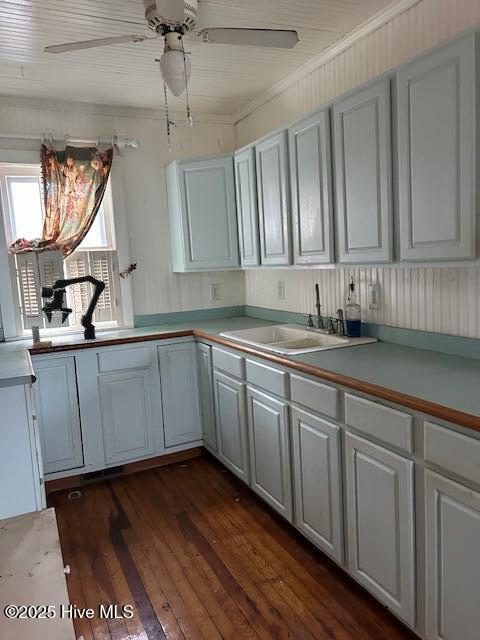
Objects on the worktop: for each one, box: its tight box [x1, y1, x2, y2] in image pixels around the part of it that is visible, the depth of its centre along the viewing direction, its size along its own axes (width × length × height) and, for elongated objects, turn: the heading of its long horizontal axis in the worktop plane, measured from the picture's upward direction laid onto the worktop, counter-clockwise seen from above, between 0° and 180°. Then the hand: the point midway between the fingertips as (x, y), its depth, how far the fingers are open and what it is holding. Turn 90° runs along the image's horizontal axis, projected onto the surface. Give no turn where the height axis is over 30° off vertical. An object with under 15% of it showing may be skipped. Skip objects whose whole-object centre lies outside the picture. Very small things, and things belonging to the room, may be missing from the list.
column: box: [31, 325, 41, 345], centre depth 300 cm, size 4×4×12 cm
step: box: [32, 340, 53, 349], centre depth 294 cm, size 9×9×2 cm
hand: (56, 323), depth 306 cm, fingers open, 9 cm apart
